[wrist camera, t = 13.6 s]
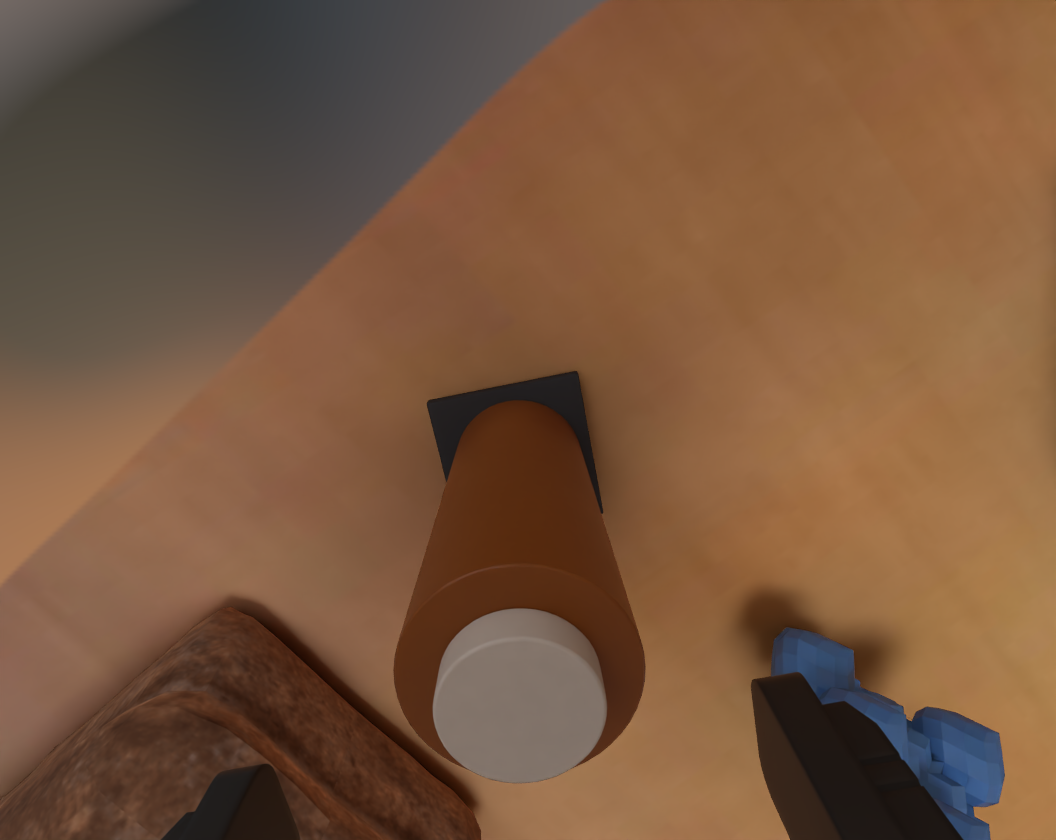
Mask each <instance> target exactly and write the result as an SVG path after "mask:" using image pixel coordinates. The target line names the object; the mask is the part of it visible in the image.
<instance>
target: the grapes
mask: <svg viewBox="0 0 1056 840" xmlns="http://www.w3.org/2000/svg"><path fill="white" fill-rule="evenodd" d="M794 672H800V673H801V674H802V675H803V676H804V678H805V679H806V680H807V682H808V683H809V685H810V686H811V688H812V689H813V691H814V692H815V694H816V696H817V697H818V699H819V700H820V702H821V703H822V705H823V704H829V703H834V702H840V701H846V702H847V703H849V704H850V705H852V706H853V707H854V708H856V709H857V710H859V711H860V712H861V713H863V714H864V715H866V716H867V717H869V718H870V719H871V720H873V721H874V722H876V723H877V724H878V726H879V727H880V728H881V730H882V731H883V732H884V734H885V735H886V736H887V738H888V739H889V740H890V742H891V743H892V744H893V746H894V747H895V748H896V750H897V751H898V752H899V754H900V757H901V759H902V760H905V762H906V763H907V764H908V766H909V767H910V768H911V770H912V771H913V772H914V774H915V775H916V777H917V778H918V780H919V783H920V785H921V786H924V787H925V789H926V790H927V791H928V793H929V794H930V795H931V797H932V798H933V799H934V801H935V802H936V803H937V805H938V806H939V807H940V809H941V810H942V811H943V813H944V814H945V815H946V817H947V818H948V819H949V821H950V822H951V823H952V825H953V826H954V828H955V829H956V830H957V832H958V833H959V834H960V836H961V837H962V838H963V840H991V839H990V831H989V824H987V823H985V822H983V821H981V820H979V819H978V818H976V817H974V810H973V807H988V806H991V805H994V804H997V803H999V799H1000V794H1001V790H1002V786H1003V781H1004V777H1005V773H1004V765H1003V757H1002V750H1001V743H1000V737H999V733H997V732H995V731H993V730H991V729H989V728H987V727H985V726H983V725H981V724H979V723H977V722H975V721H973V720H970V719H968V718H966V717H964V716H962V715H960V714H958V713H956V712H952V711H948V710H944V709H940V708H933V707H925V708H923V709H921V710H919V711H917V712H916V713H915V715H914V717H913V720H912V722H911V721H909V720H908V719H906V715H905V714H904V711H903V706H901V705H899V704H897V703H896V702H894V701H892V700H890V699H888V698H886V697H884V696H882V695H880V694H878V693H874V692H870V691H868V690H866V689H864V688H862V687H860V681H859V680H857V679H855V668H854V652H853V650H851V649H849V648H847V647H845V646H843V645H841V644H839V643H837V642H835V641H833V640H831V639H829V638H826V637H824V636H822V635H820V634H818V633H814V632H811V631H806V630H800V629H794V628H788V627H786V628H785V629H784V630H783V631H782V632H781V633H780V634H779V635H778V636H777V637H776V638H775V639H774V644H773V651H772V662H771V676H776V675H782V674H788V673H794Z"/></svg>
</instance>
